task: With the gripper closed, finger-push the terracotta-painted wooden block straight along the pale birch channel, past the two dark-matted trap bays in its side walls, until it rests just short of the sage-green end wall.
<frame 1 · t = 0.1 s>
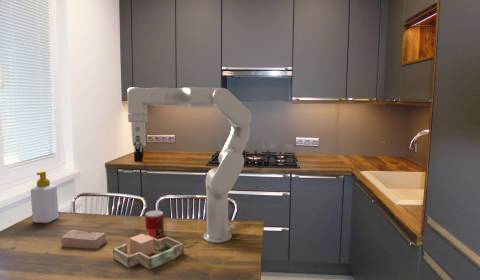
hand: (139, 159, 148), 37 cm above the table, tool pointing down, fingers open, 9 cm apart
canned food: (155, 236, 162), on the table
block: (142, 252, 146), on the table
brick: (84, 244, 154), on the table
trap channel: (149, 255, 143), on the table
soap bottle: (46, 220, 182), on the table
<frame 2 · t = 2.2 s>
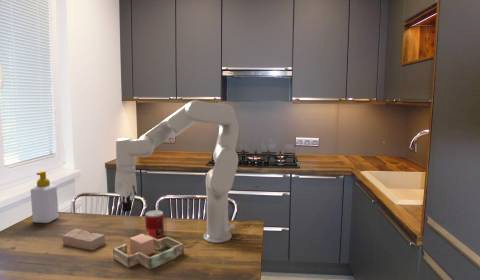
hand: (126, 210, 150), 15 cm above the table, tool pointing down, fingers closed
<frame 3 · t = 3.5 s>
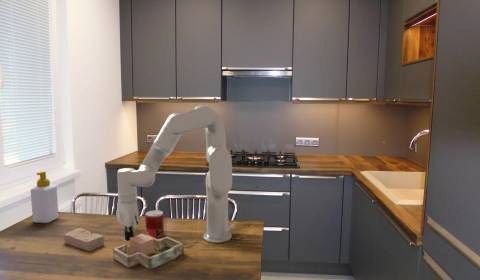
hand: (129, 239, 152), 3 cm above the table, tool pointing down, fingers closed
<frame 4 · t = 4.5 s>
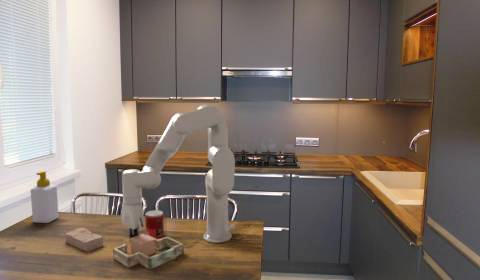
hand: (134, 242, 149), 3 cm above the table, tool pointing down, fingers closed
block: (142, 252, 145), on the table, touching gripper
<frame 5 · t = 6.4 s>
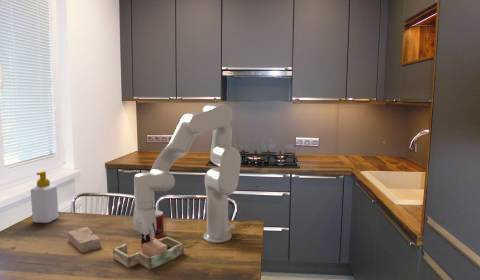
hand: (146, 248, 144), 3 cm above the table, tool pointing down, fingers closed
block: (154, 259, 140), on the table, touching gripper, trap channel
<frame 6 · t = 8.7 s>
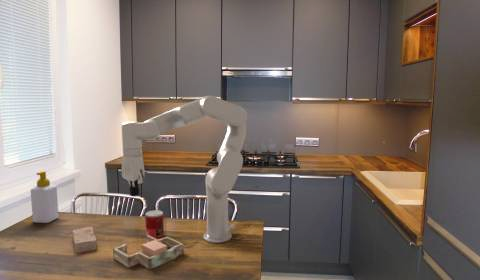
hand: (134, 195, 149), 22 cm above the table, tool pointing down, fingers closed
block: (154, 259, 140), on the table
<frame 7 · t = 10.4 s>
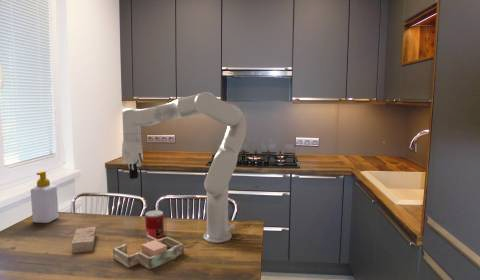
hand: (133, 178, 158), 27 cm above the table, tool pointing down, fingers closed
at the end: block 1.4 cm from the target spot, on the table; block tilted 0°; block moved 9.3 cm from its start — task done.
